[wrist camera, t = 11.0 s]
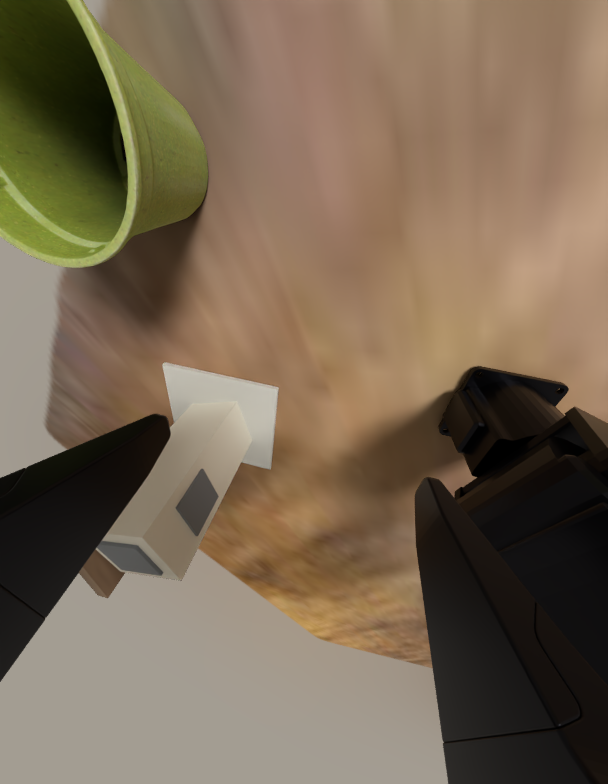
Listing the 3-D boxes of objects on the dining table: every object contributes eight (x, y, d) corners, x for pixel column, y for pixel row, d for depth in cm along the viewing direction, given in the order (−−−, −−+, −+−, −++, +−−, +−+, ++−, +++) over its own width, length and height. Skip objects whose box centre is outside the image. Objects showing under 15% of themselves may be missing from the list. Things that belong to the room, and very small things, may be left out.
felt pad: (278, 387, 24) (277, 389, 23) (271, 466, 30) (270, 469, 30) (165, 362, 25) (162, 364, 24) (180, 444, 31) (179, 447, 30)
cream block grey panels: (238, 401, 25) (142, 541, 14) (253, 440, 27) (182, 584, 17) (191, 403, 26) (71, 533, 15) (210, 441, 29) (118, 574, 18)
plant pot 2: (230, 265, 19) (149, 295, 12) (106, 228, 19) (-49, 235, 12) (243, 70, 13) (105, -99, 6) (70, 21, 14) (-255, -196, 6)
